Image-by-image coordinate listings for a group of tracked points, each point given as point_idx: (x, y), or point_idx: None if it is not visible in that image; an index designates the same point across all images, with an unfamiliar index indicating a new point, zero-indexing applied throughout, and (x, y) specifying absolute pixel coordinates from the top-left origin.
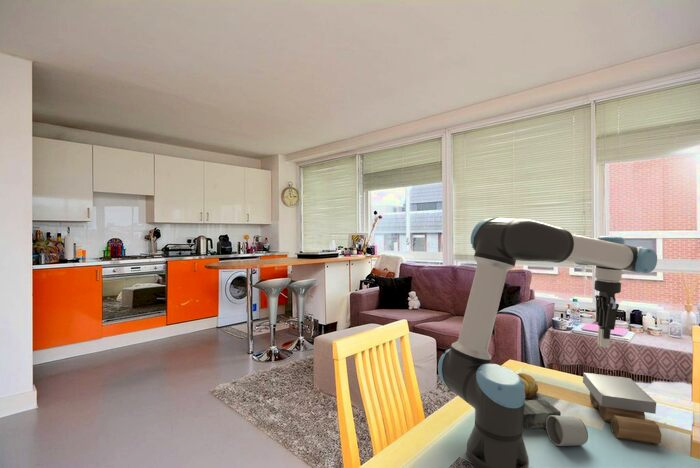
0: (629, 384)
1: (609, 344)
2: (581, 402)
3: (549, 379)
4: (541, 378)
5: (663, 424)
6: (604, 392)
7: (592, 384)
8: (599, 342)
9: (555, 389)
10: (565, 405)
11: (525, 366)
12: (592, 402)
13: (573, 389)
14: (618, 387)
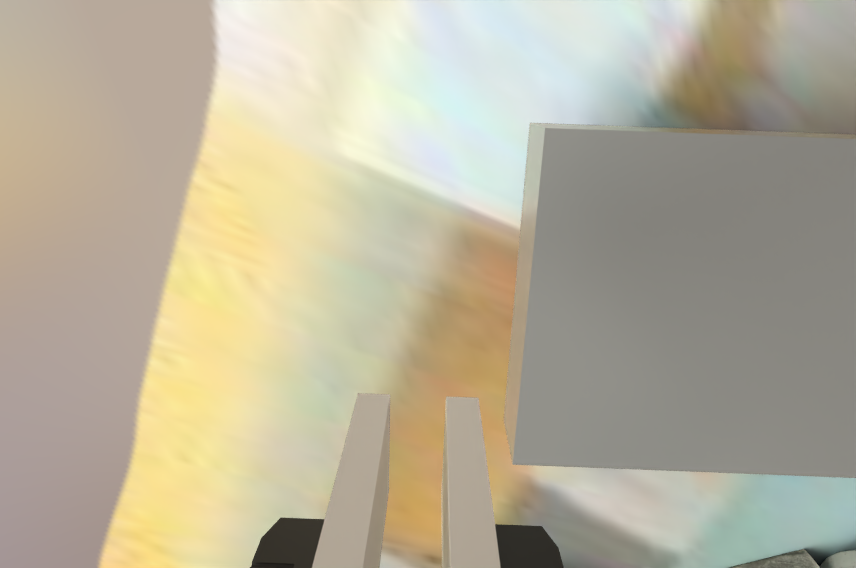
0: (684, 201)
1: (479, 427)
2: None
3: (286, 459)
4: (289, 496)
5: (727, 7)
6: (843, 449)
7: (703, 467)
8: (385, 502)
9: (415, 463)
10: (593, 468)
11: (143, 538)
12: None
13: (383, 369)
14: (754, 319)
